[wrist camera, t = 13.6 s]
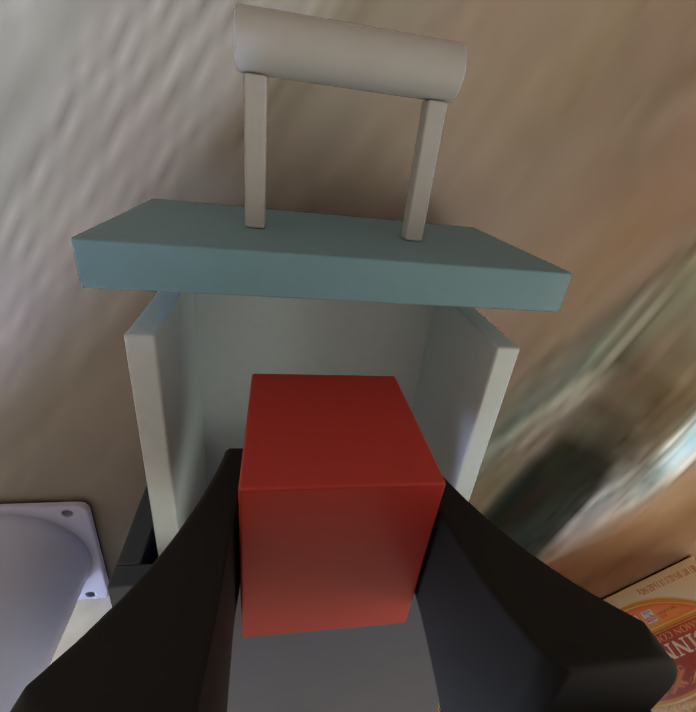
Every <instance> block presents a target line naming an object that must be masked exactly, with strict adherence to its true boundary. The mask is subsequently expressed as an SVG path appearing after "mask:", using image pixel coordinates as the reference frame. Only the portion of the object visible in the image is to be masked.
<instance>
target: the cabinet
mask: <svg viewBox="0 0 696 712" xmlns="http://www.w3.org/2000/svg"><path fill="white" fill-rule="evenodd" d="M157 558H158V551H157V544H156V538H155V532H154V525H153V519H152V513H151V506H150V500H149V494H148V487H147V486H146V489H145V491H144V494H143V497H142V499H141V502H140V504H139V507H138V510H137V512H136V515H135V517H134V520H133V523H132V525H131V528H130V530H129V533H128V536H127V538H126V541H125V543H124V546H123V549H122V551H121V554H120V556H119V559H118V562H117V564H116V567H115V569H114V571H113V574H112V576H111V579H110V582H109V584H108V587H107V588H108V592H109V596H110V600H111V604H112V607H113V606H114V605H115V604H116V603H117V602H118V601H119V600H120V599H121V598H122V597H123V596H124V595H125V594H126V593H127V592H128V591H129V590H130V589H131V588H132V587H133V586H134V584H135V583H136V582H137V581H138V580H139V579H140V578H141V577H142V575H143V574H144V573H145V572H146V571H147V570H148V569H149V568H150V566H151V565H152V564H153V563H154V562H155V561H156V559H157ZM438 704H439V697H438V692H437V687H436V682H435V677H434V673H433V668H432V663H431V658H430V653H429V649H428V644H427V640H426V635H425V631H424V627H423V622H422V618H421V614H420V610H419V606H418V603H417V599H416V596H415V593H414V595H413V598H412V602H411V605H410V609H409V612H408V615H407V619H406V622H404V623H394V624H383V625H372V626H361V627H351V628H340V629H329V630H318V631H307V632H297V633H286V634H275V635H264V636H254V637H242V634H241V593H240V589H239V595H238V601H237V607H236V614H235V622H234V630H233V642H232V654H231V667H230V679H229V692H228V705H227V712H435V711H436V709H437V707H438Z"/></svg>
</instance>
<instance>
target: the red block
mask: <svg viewBox="0 0 696 712" xmlns="http://www.w3.org/2000/svg"><path fill="white" fill-rule="evenodd" d="M444 488H445V480H444V478H443V476H442V474H441V472H440V470H439V468H438V466H437V463H436V461H435V459H434V457H433V455H432V453H431V451H430V449H429V447H428V445H427V443H426V441H425V438H424V436H423V434H422V432H421V430H420V428H419V426H418V424H417V422H416V420H415V418H414V415H413V413H412V411H411V409H410V407H409V405H408V403H407V401H406V399H405V397H404V395H403V393H402V390H401V388H400V386H399V384H398V382H397V380H396V378H395V377H394V376H361V375H307V374H253V375H252V378H251V387H250V395H249V403H248V412H247V420H246V428H245V437H244V445H243V454H242V462H241V470H240V479H239V487H238V503H239V548H240V593H241V634H242V637H254V636H264V635H275V634H286V633H297V632H307V631H318V630H329V629H340V628H351V627H361V626H372V625H383V624H394V623H404V622H406V619H407V615H408V612H409V609H410V605H411V602H412V598H413V595H414V591H415V588H416V584H417V581H418V578H419V574H420V571H421V567H422V564H423V560H424V557H425V553H426V550H427V547H428V543H429V540H430V536H431V533H432V529H433V526H434V522H435V519H436V516H437V512H438V509H439V505H440V502H441V498H442V495H443V491H444Z"/></svg>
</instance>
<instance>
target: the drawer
mask: <svg viewBox="0 0 696 712" xmlns="http://www.w3.org/2000/svg"><path fill="white" fill-rule="evenodd" d="M233 36H234V56H235V65H236V69H237V71H238V72H240V73H244V196H245V207H239V206H228V205H217V204H206V203H195V202H183V201H172V200H161V199H152V200H149V201H147V202H145V203H143V204H141V205H139V206H137V207H135V208H133V209H131V210H129V211H126V212H124V213H122V214H120V215H118V216H116V217H114V218H112V219H110V220H108V221H106V222H103V223H101V224H99V225H97V226H95V227H93V228H91V229H89V230H87V231H85V232H83V233H80V234H78V235H76V236H74V237H72V244H73V249H74V254H75V259H76V264H77V270H78V275H79V280H80V285H81V287H88V288H107V289H126V290H145V291H158V293H157V294H156V295H155V296H154V298H153V299H152V300H151V301H150V303H149V304H148V305H147V306H146V308H145V309H144V310H143V311H142V313H141V314H140V315H139V316H138V318H137V319H136V320H135V322H134V323H133V324H132V325H131V327H130V328H129V329H128V330H127V332H126V333H125V334H124V342H125V348H126V354H127V361H128V367H129V373H130V380H131V386H132V392H133V399H134V405H135V411H136V418H137V424H138V430H139V437H140V443H141V449H142V456H143V462H144V468H145V475H146V481H147V487H148V494H149V500H150V506H151V513H152V519H153V525H154V532H155V538H156V544H157V551H158V557H159V556H160V554H161V553H162V552H163V551H164V550H165V548H166V547H167V546H168V544H169V543H170V542H171V541H172V539H173V538H174V537H175V535H176V534H177V533H178V531H179V530H180V528H181V527H182V526H183V524H184V523H185V521H186V520H187V518H188V517H189V516H190V514H191V513H192V511H193V510H194V508H195V507H196V505H197V504H198V502H199V500H200V499H201V497H202V496H203V494H204V492H205V491H206V489H207V487H208V486H209V484H210V482H211V480H212V479H213V477H214V475H215V473H216V471H217V469H218V467H219V465H220V463H221V461H222V459H223V457H224V454H225V451H227V450H228V449H229V448H243V445H244V437H245V428H246V420H247V412H248V403H249V395H250V387H251V378H252V375H253V374H307V375H361V376H394V377H395V378H396V380H397V382H398V384H399V386H400V388H401V390H402V393H403V395H404V397H405V399H406V401H407V403H408V405H409V407H410V409H411V411H412V413H413V415H414V418H415V420H416V422H417V424H418V426H419V428H420V430H421V432H422V434H423V436H424V438H425V441H426V443H427V445H428V447H429V449H430V451H431V453H432V455H433V457H434V459H435V461H436V463H437V466H438V468H439V470H440V472H441V474H442V476H443V477H444V478H445V479H446V480H447V481H448V482H449V483H450V484H451V485H452V486H453V487H454V488H455V489H456V490H457V491H458V492H459V493H460V494H461V495H462V496H463V497H464V498H465V499H466V500H467V501H468V502H469V499H470V497H471V494H472V491H473V488H474V485H475V482H476V479H477V476H478V473H479V470H480V467H481V464H482V461H483V458H484V455H485V452H486V449H487V446H488V443H489V440H490V437H491V434H492V431H493V428H494V425H495V422H496V419H497V416H498V413H499V410H500V407H501V404H502V401H503V398H504V395H505V392H506V389H507V386H508V383H509V380H510V377H511V374H512V371H513V368H514V365H515V362H516V359H517V356H518V353H519V347H518V346H516V345H515V344H514V343H513V342H512V341H511V340H510V339H508V338H507V337H506V336H505V335H504V334H503V333H502V332H500V331H499V330H498V329H497V328H496V327H495V326H494V325H493V324H491V323H490V322H489V321H488V320H487V319H486V318H485V317H483V316H482V315H481V314H480V313H479V312H478V311H477V310H475V309H474V308H492V309H511V310H530V311H549V312H558V311H559V310H560V307H561V304H562V301H563V299H564V296H565V293H566V290H567V288H568V285H569V282H570V280H571V277H572V273H571V272H568V271H566V270H564V269H562V268H560V267H558V266H555V265H553V264H551V263H549V262H547V261H545V260H543V259H540V258H538V257H536V256H534V255H532V254H530V253H527V252H525V251H523V250H521V249H519V248H517V247H514V246H512V245H510V244H508V243H506V242H504V241H501V240H499V239H497V238H495V237H493V236H491V235H488V234H486V233H484V232H482V231H480V230H478V229H475V228H473V227H462V226H451V225H440V224H429V223H425V222H426V216H427V211H428V205H429V200H430V195H431V189H432V184H433V179H434V173H435V168H436V163H437V157H438V152H439V147H440V141H441V136H442V130H443V125H444V120H445V114H446V109H447V103H450V102H452V101H454V100H455V98H456V97H457V95H458V93H459V91H460V89H461V86H462V83H463V80H464V77H465V73H466V67H467V48H466V45H465V44H463V43H461V42H455V41H450V40H444V39H438V38H433V37H427V36H421V35H416V34H410V33H404V32H399V31H393V30H387V29H382V28H376V27H370V26H365V25H359V24H353V23H347V22H342V21H336V20H330V19H325V18H319V17H313V16H308V15H302V14H296V13H291V12H285V11H279V10H274V9H268V8H262V7H256V6H251V5H245V4H239V3H238V4H236V5H235V8H234V19H233ZM267 77H273V78H280V79H287V80H294V81H301V82H307V83H314V84H321V85H328V86H335V87H342V88H348V89H355V90H362V91H369V92H376V93H382V94H389V95H396V96H403V97H410V98H417V99H423V100H426V101H423V103H422V108H421V114H420V120H419V126H418V132H417V139H416V145H415V151H414V157H413V163H412V169H411V176H410V182H409V188H408V194H407V200H406V206H405V212H404V219H403V221H395V220H384V219H373V218H362V217H351V216H339V215H328V214H317V213H306V212H295V211H284V210H273V209H266V160H267V91H268V80H267Z"/></svg>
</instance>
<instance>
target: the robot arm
mask: <svg viewBox="0 0 696 712" xmlns="http://www.w3.org/2000/svg"><path fill="white" fill-rule="evenodd" d="M242 454H243V448H229V449H228V450H227V451H225V454H224V457H223V459H222V461H221V463H220V465H219V467H218V469H217V471H216V473H215V475H214V477H213V479H212V480H211V482H210V484H209V486H208V487H207V489H206V491H205V492H204V494H203V496H202V497H201V499H200V500H199V502H198V504H197V505H196V507H195V508H194V510H193V511H192V513H191V514H190V516H189V517H188V518H187V520H186V521H185V523H184V524H183V526H182V527H181V528H180V530H179V531H178V533H177V534H176V535H175V537H174V538H173V539H172V541H171V542H170V543H169V544H168V546H167V547H166V548H165V550H164V551H163V552H162V553H161V554H160V556H159V557H158V558H157V559H156V561H155V562H154V563H153V564H152V565H151V566H150V568H149V569H148V570H147V571H146V572H145V573H144V574H143V575H142V577H141V578H140V579H139V580H138V581H137V582H136V583H135V584H134V586H133V587H132V588H131V589H130V590H129V591H128V592H127V593H126V594H125V595H124V596H123V597H122V598H121V599H120V600H119V601H118V602H117V603H116V604H115V605H114V606H113V607H112V608H111V609H110V610H109V611H108V612H107V613H106V614H105V615H104V616H103V617H102V618H101V619H100V620H99V621H98V622H97V623H96V624H95V625H94V626H93V627H92V628H91V629H90V630H89V631H88V632H87V633H86V634H85V635H84V636H83V637H81V638H80V639H79V640H78V641H77V642H76V643H75V644H74V645H73V646H72V647H70V648H69V649H68V650H67V651H66V652H65V653H64V654H62V655H61V656H60V657H59V658H58V659H57V660H56V661H54V662H53V663H52V664H51V665H50V663H51V660H52V658H53V656H54V653H55V651H56V649H57V647H58V644H59V642H60V640H61V637H62V635H63V633H64V631H65V628H66V626H67V624H68V621H69V619H70V617H71V615H72V612H73V610H74V608H75V605H76V603H77V601H78V600H84V599H98V598H104V597H106V596H108V594H109V592H108V588H107V587H108V584H109V580H108V576H107V572H106V568H105V564H104V560H103V556H102V552H101V548H100V544H99V540H98V536H97V533H96V529H95V525H94V521H93V517H92V513H91V509H90V506H89V505H88V504H87V503H85V502H80V501H75V502H45V503H14V504H0V712H227V705H228V692H229V679H230V667H231V654H232V642H233V630H234V622H235V614H236V607H237V601H238V595H239V589H240V548H239V503H238V487H239V479H240V470H241V462H242ZM443 478H444V477H443ZM444 480H445V488H444V491H443V495H442V498H441V502H440V505H439V509H438V512H437V516H436V519H435V522H434V526H433V529H432V533H431V536H430V540H429V543H428V547H427V550H426V553H425V557H424V560H423V564H422V567H421V571H420V574H419V578H418V581H417V584H416V588H415V591H414V593H415V596H416V599H417V603H418V606H419V610H420V614H421V618H422V622H423V627H424V631H425V635H426V640H427V644H428V649H429V653H430V658H431V663H432V668H433V673H434V677H435V682H436V687H437V692H438V697H439V703H440V708H441V712H652V711H651V709H652V708H653V707H654V706H655V705H656V704H657V703H658V702H659V701H660V700H661V698H662V697H663V696H664V695H665V694H666V693H667V692H668V691H669V690H670V688H671V687H672V685H673V684H674V683H675V681H676V677H677V667H676V664H675V663H674V661H673V660H672V659H671V657H670V656H669V655H668V653H667V652H666V651H665V649H664V648H663V647H662V645H661V644H660V643H659V641H658V640H657V639H656V637H655V636H654V635H653V633H652V632H651V631H650V629H649V628H648V627H647V626H646V624H645V623H644V622H643V621H641V620H639V619H637V618H636V617H634V616H632V615H630V614H628V613H626V612H624V611H623V610H621V609H619V608H617V607H615V606H613V605H611V604H609V603H608V602H606V601H604V600H602V599H600V598H598V597H597V596H595V595H593V594H592V593H590V592H588V591H587V590H585V589H583V588H582V587H580V586H578V585H577V584H575V583H573V582H572V581H570V580H569V579H567V578H565V577H564V576H562V575H561V574H559V573H558V572H556V571H555V570H553V569H552V568H550V567H549V566H547V565H546V564H544V563H543V562H542V561H540V560H539V559H537V558H536V557H534V556H533V555H532V554H530V553H529V552H527V551H526V550H525V549H523V548H522V547H521V546H519V545H518V544H517V543H515V542H514V541H513V540H512V539H510V538H509V537H508V536H507V535H505V534H504V533H503V532H502V531H500V530H499V529H498V528H497V527H496V526H494V525H493V524H492V523H491V522H490V521H489V520H487V519H486V518H485V517H484V516H483V515H482V514H481V513H480V512H479V511H478V510H477V509H475V508H474V507H473V506H472V505H471V504H470V503H469V502H468V501H467V500H466V499H465V498H464V497H463V496H462V495H461V494H460V493H459V492H458V491H457V490H456V489H455V488H454V487H453V486H452V485H451V484H450V483H449V482H448V481H447V480H446V479H445V478H444ZM68 510H69V511H68ZM49 665H50V666H49Z"/></svg>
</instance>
